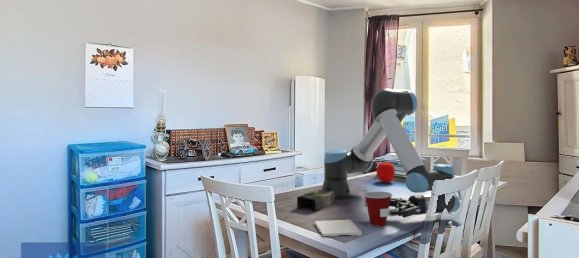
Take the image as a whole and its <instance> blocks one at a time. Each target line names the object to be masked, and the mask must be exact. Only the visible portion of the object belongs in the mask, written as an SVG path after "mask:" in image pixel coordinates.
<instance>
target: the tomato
mask: <svg viewBox="0 0 579 258" xmlns="http://www.w3.org/2000/svg"><path fill="white" fill-rule="evenodd" d="M395 170H396V169H395V166H394V165H393V164H392V163H391V162H389V161H381V162H380V163H378V165H377V166H376V176H377V178H378V180H379V181H380V182H381V183H390V182H392V181H393V180H394V177H395V174H396V172H395Z"/></svg>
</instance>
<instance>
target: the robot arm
mask: <svg viewBox="0 0 579 258" xmlns="http://www.w3.org/2000/svg"><path fill="white" fill-rule="evenodd" d="M370 108H371V113H372V116H373V119H375V120H374V122H373V123H372V124H371V126H370V128H369V129H368V130H367V131H366V133H365V134H364V135H363V137H362V139H361V140H360V141H359V143H357V144H355V145H353V147H352V148H351V149H350V150H349V151H348V150H347V149H346V148H345V149H344V148H338V149H337V148H336V149H335V148H334V149H330V150H327V151H326V152H325V153H324V159H323V162H324V168H323V169H324V170H323V171H324V172H323V173H324V178H323V184H322V185H321V186H322V187H321V189H320V190H328V191H332V192H335V195H334V199H347V198H349V197H351V188H350V186H349V183H348V175H349V174H358V173H359V174H360V173H361V174H362V173H365V172H368V171H369V170H371V169H372V167H373V164H374V163H373V161H374V153H375V151H377V149H378V148H379V146H380V145H381V144H382V142H383V141H384V140H385V138H386V137H387V139H388V141H389V143H390V145H391V146H392V149H393V150H394V152H395V155H396V156H397V159H398V160H399V162H400V164H401V166H402V167H403V169H404V171H405V174H406V175H407V176H406V178H405V186H406V188H407V190H409V191H410V192H411V193H415V195H411V196H409V197H408V199H405V198H404V199H403V198H402V197H397V198H396V197H391V200H390V204H389V209H380V217H387V218H388V217H397V216H398V217H402V218H405V219H406V218H408V217H411V216H418V215H419V216H420V215H426V213H427V210H428V206H429V202H430V198H431V195H432V194H430V193H429V194H422V193H426V192H430V191H433V190H432V186H433V182H434V181H435V180H445V179H452V178H454V179H455V174H454V173H455V172H454V169H455V168H454V167H453V166H452V165H450V164H445V163H437V164H434V165H433V169H432V170H428V169H427V167H426V165H425V164H424V162H423V160H422V158H421V157H420V155H419V153H418V152H417V149H416V148H415V146H414V144H413V142H412V141H411V139H410V137H409V135H408V134H407V132H406V130H405V128H404V126H403V125H402V122H403V120H404V119H405V118H406V116H411V115H413V114H414V113H415V112H416V110H417V108H418V98H417V95H416V94H415V93H414V92H413V91H412V90H409V89H404V88H402V89H396V88H395V89H394V88H383V89H380V90H378V91H377V92H376V93H375V94H374V95H373V97H372V99H371V104H370ZM418 193H419V194H420V193H421V194H420V195H419V194H418ZM416 194H417V195H416ZM453 194H454V195H453V196H452V198H451V199H450V201H449V202H448V205H446V203H445V194H442V195H439V196H438V200H437V206H436V212H435V213H434V214H443V213H442V212H443V210H444V209H445V208H446V209H447V211H448V213H455V212H457V211H458V210H460V208H461V207H460V206H461V201H460V199H459V198H460V197H458V195H457V194H456V193H453ZM363 207H367V202H366V199H364V200H363ZM391 207H392V208H391ZM448 213H447V214H448Z"/></svg>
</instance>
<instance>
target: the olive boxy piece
mask: <svg viewBox="0 0 579 258" xmlns="http://www.w3.org/2000/svg"><path fill="white" fill-rule="evenodd" d="M334 195H335V192H332V191H328V190H321V189H316V190H314V191H309V192H308V193H305V194H303V195H298V196H297V197H296V199H297V200H296V201H297V202H296V204H297V205H296V207H297V210H299V209H300V208H302V207H305V206H306V205H310V204H311V203H312V205H311V208H310V210H311V211H313V212H316V211H318V210H323V209H324V208H327V207H328V206H330V205H332V204H334V203H335V199H336V198H334Z"/></svg>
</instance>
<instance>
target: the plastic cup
mask: <svg viewBox="0 0 579 258" xmlns="http://www.w3.org/2000/svg"><path fill="white" fill-rule="evenodd" d="M362 195H363V197H364V200H366V202H367V208H366V209H367V214H368V218H369V220H368V221H369V224H370V225H371V226H375V227H383V226H385V225H386V224H387V219H388V217H380V209H389V208H390V206H389V204H390V200H391V198H392V196H393V193H392V192H389V191H369V192H368V191H367V192H365V193H363V194H362Z"/></svg>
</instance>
